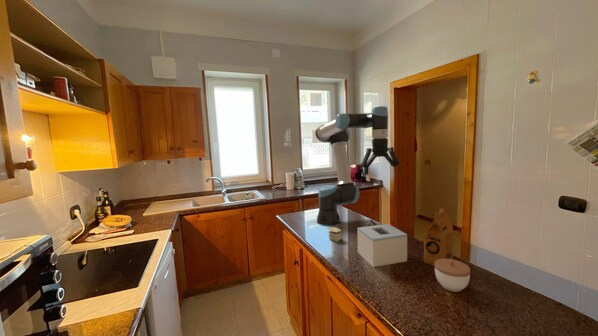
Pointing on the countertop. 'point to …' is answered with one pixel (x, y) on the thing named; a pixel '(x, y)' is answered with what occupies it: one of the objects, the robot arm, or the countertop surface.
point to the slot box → (382, 244)
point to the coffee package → (439, 239)
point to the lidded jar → (452, 274)
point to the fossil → (371, 223)
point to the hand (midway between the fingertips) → (380, 179)
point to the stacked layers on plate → (334, 234)
